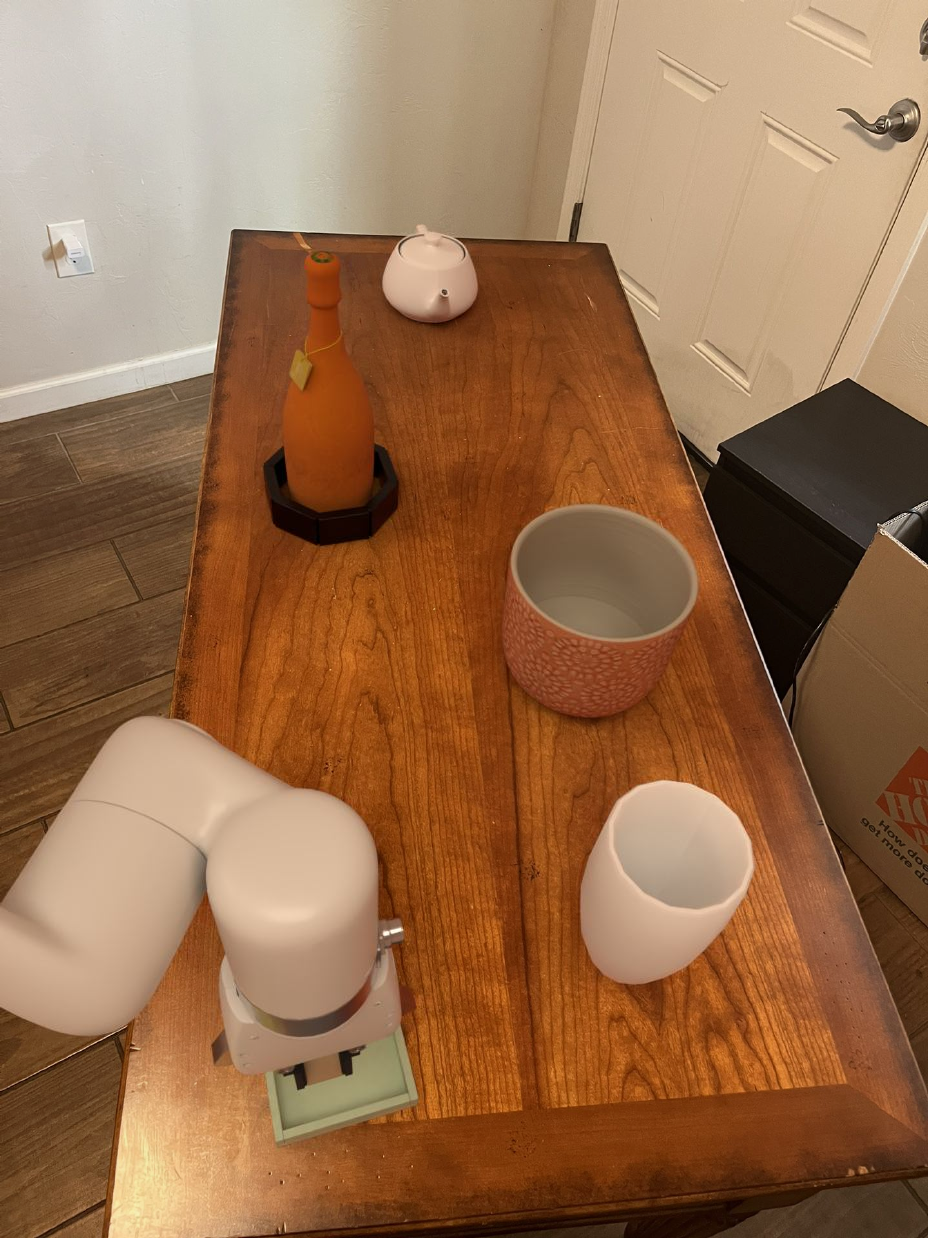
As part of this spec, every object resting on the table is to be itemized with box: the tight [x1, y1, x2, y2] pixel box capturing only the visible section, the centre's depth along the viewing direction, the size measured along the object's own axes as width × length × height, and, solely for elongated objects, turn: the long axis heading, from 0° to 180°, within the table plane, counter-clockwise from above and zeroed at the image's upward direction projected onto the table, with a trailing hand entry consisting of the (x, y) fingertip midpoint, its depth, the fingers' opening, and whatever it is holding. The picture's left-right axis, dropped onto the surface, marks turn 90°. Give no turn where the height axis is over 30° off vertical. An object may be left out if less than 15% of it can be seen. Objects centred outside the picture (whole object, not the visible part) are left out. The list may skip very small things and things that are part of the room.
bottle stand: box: [262, 442, 400, 547], centre depth 108 cm, size 14×14×4 cm
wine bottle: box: [281, 250, 375, 513], centre depth 98 cm, size 10×10×30 cm
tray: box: [264, 1023, 419, 1149], centre depth 73 cm, size 10×21×2 cm, turn 17°
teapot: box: [382, 223, 479, 324], centre depth 133 cm, size 22×14×11 cm, turn 11°
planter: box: [501, 503, 700, 719], centre depth 90 cm, size 17×17×15 cm
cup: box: [579, 779, 756, 986], centre depth 68 cm, size 10×10×22 cm
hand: (320, 1058), depth 63 cm, fingers closed on brush, 2 cm apart
